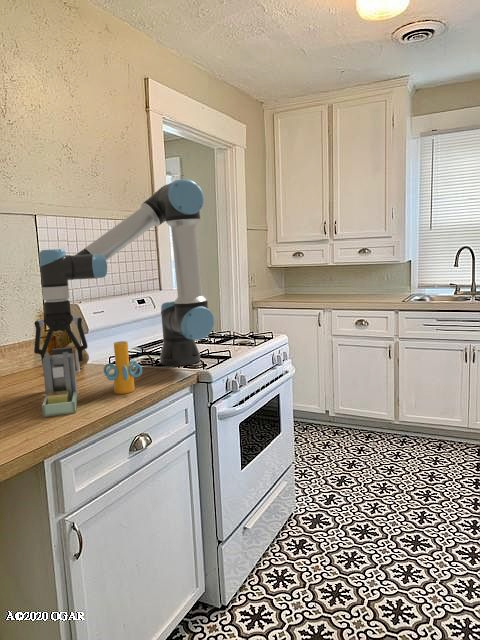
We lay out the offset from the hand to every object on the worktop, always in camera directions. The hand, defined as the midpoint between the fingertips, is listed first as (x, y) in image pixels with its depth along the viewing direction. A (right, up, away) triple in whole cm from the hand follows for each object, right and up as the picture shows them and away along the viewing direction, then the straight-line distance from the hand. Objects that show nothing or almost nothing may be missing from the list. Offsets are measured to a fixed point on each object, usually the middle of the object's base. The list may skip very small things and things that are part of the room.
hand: (63, 373), depth 153 cm
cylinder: (+20, -5, -5) cm, 21 cm away
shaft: (+2, 0, -7) cm, 7 cm away
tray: (+6, -8, -19) cm, 22 cm away
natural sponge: (-7, -2, +31) cm, 32 cm away
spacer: (+6, -7, -20) cm, 22 cm away
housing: (+4, -7, -13) cm, 15 cm away
